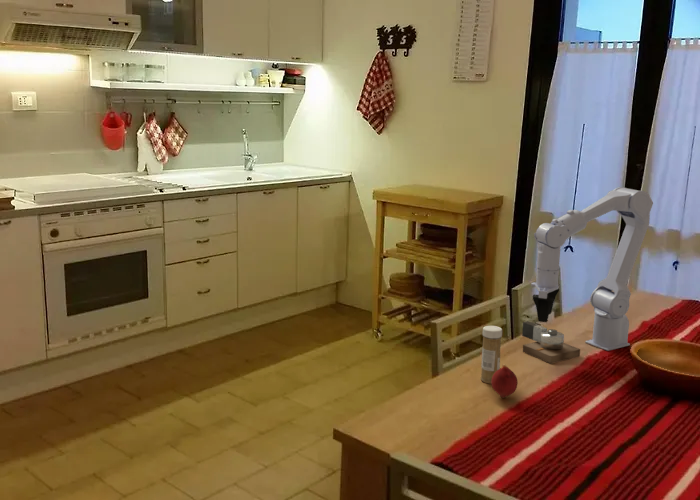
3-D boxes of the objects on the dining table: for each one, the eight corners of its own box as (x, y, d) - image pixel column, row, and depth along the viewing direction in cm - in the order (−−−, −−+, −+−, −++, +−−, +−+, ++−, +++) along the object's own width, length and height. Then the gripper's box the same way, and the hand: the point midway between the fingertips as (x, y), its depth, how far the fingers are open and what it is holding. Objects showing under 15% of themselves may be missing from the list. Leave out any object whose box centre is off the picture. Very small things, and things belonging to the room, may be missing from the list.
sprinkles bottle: (503, 381, 168) (506, 328, 165) (489, 385, 166) (492, 332, 163) (489, 375, 172) (492, 323, 169) (476, 379, 169) (478, 326, 167)
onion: (517, 394, 161) (519, 361, 159) (515, 404, 156) (517, 370, 154) (492, 390, 163) (494, 358, 161) (488, 400, 158) (490, 367, 156)
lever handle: (568, 347, 186) (569, 332, 185) (552, 351, 183) (553, 335, 182) (532, 333, 197) (533, 319, 196) (516, 337, 193) (517, 322, 193)
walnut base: (551, 345, 194) (551, 337, 194) (579, 356, 186) (580, 348, 185) (522, 351, 189) (523, 344, 188) (550, 363, 180) (551, 355, 180)
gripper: (536, 261, 193) (533, 308, 195) (528, 273, 180) (525, 323, 182) (562, 263, 190) (559, 311, 193) (556, 275, 177) (552, 326, 180)
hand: (544, 317), depth 187 cm, fingers open, 7 cm apart
